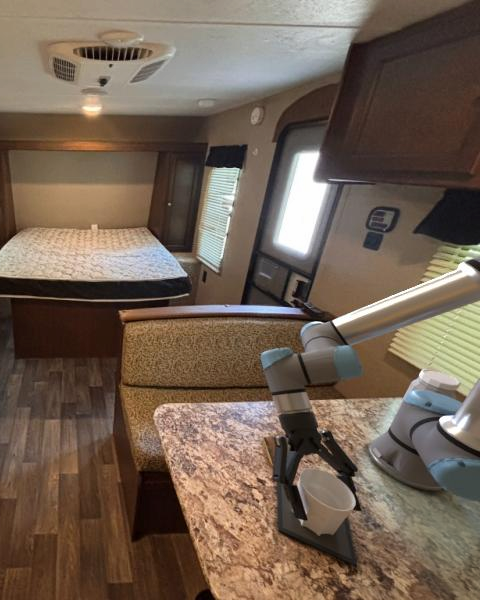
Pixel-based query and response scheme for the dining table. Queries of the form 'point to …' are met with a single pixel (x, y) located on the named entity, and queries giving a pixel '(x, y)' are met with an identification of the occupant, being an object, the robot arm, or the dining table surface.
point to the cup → (324, 500)
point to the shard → (271, 447)
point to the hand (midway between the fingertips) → (328, 514)
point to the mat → (330, 544)
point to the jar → (434, 383)
